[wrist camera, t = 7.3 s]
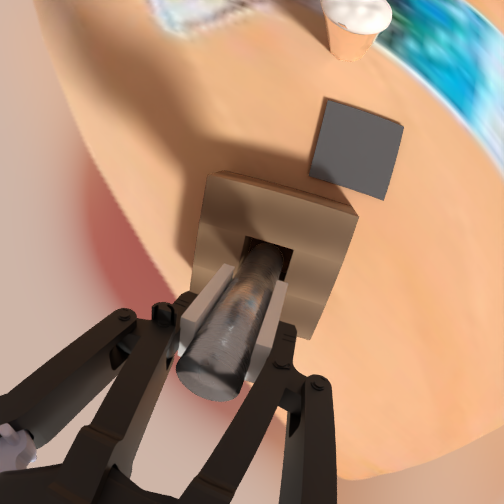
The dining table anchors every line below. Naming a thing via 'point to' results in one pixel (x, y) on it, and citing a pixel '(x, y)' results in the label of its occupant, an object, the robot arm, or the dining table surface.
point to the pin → (232, 329)
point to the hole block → (274, 239)
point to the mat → (356, 150)
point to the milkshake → (354, 25)
